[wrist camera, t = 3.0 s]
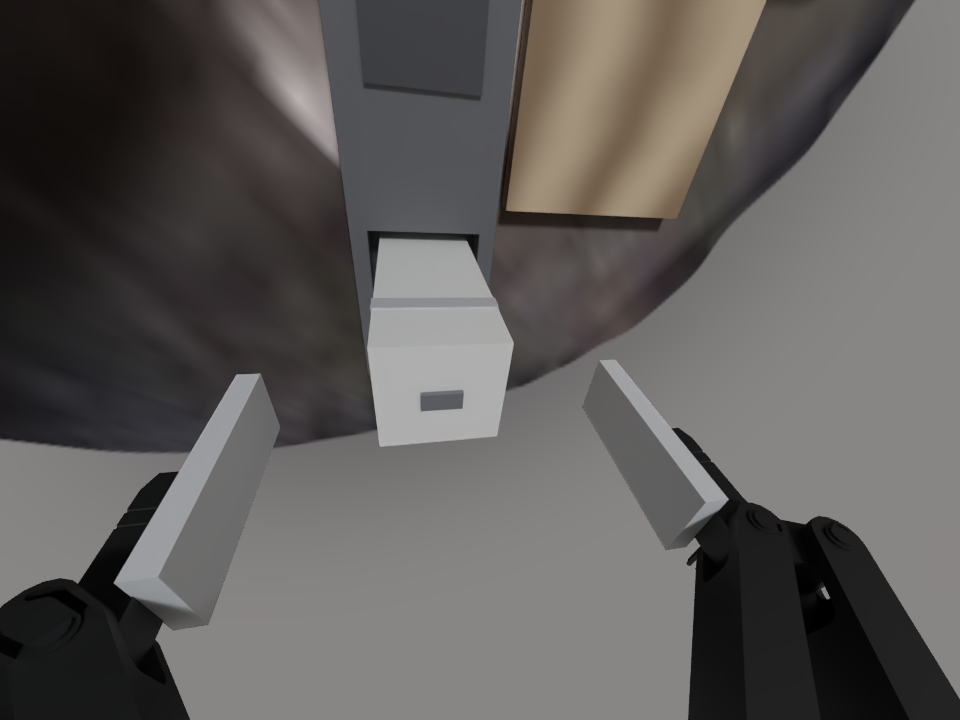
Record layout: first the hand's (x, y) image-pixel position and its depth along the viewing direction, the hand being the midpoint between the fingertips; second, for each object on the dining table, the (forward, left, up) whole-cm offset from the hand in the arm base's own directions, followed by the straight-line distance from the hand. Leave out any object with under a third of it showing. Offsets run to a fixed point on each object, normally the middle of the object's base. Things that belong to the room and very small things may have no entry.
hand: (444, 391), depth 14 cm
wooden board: (+11, +10, -12) cm, 19 cm away
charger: (0, 0, -11) cm, 11 cm away
